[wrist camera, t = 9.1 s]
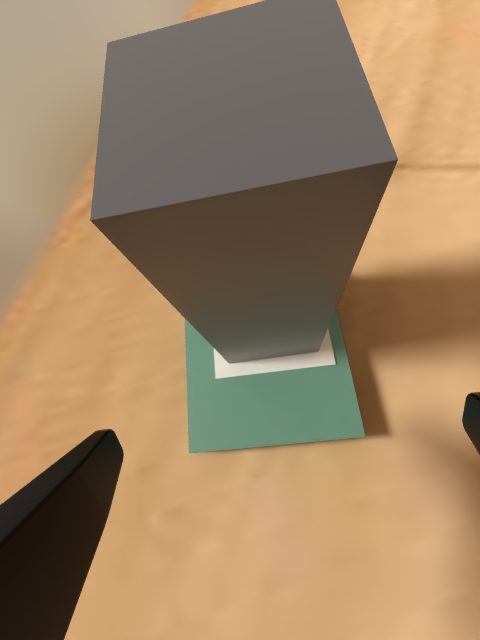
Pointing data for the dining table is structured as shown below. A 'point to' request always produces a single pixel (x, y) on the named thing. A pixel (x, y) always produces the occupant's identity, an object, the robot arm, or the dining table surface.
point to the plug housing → (243, 170)
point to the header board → (270, 396)
